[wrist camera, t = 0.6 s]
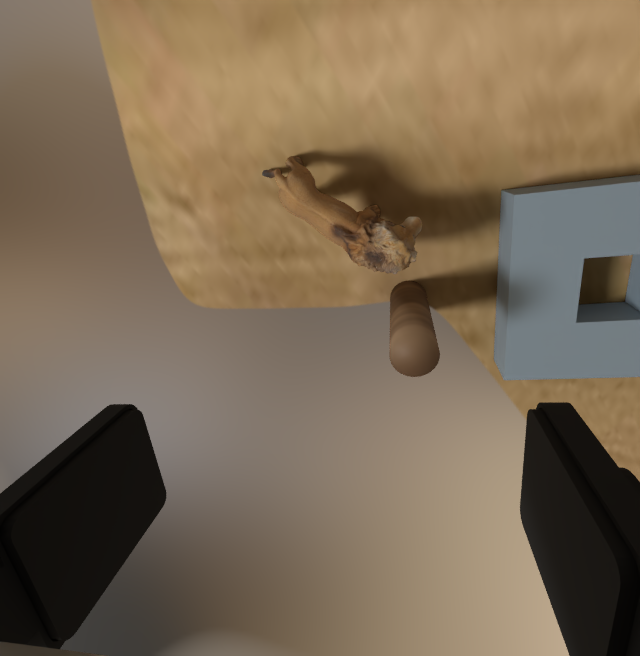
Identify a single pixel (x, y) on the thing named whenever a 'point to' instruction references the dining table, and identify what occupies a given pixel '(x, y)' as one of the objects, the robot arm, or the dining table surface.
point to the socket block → (566, 281)
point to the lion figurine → (348, 222)
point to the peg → (412, 331)
